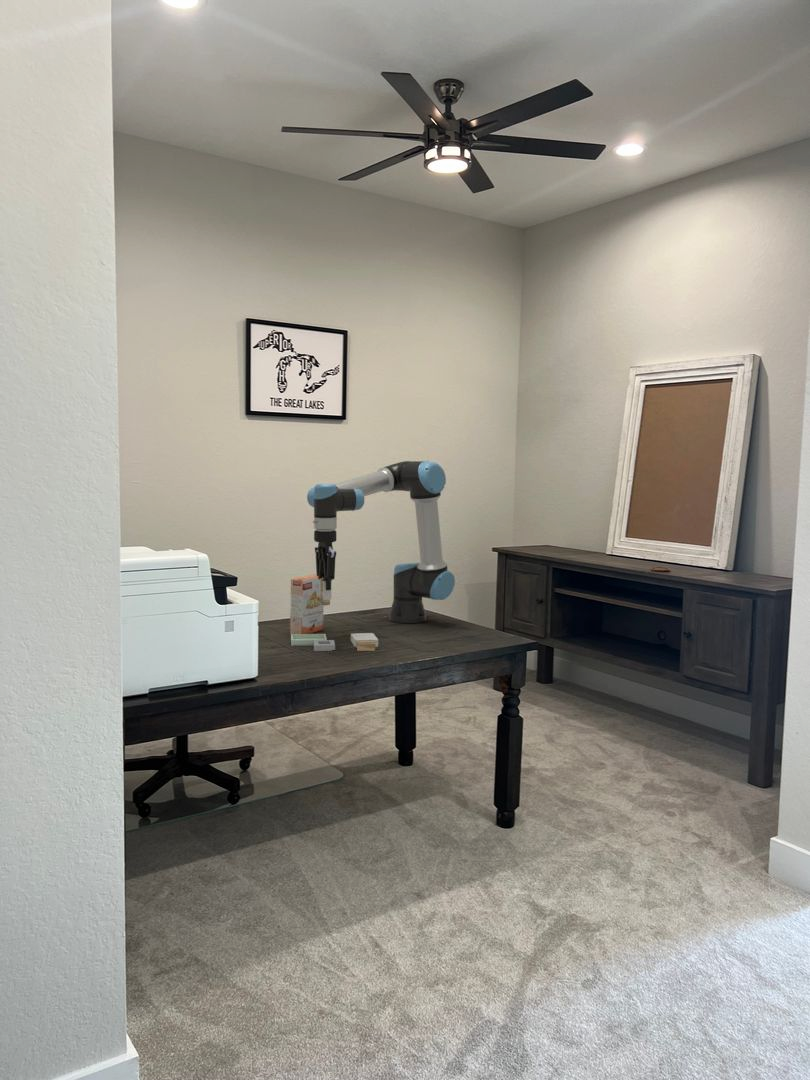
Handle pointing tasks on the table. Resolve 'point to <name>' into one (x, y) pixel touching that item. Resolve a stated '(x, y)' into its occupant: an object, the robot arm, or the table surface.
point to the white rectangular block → (364, 638)
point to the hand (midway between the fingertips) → (325, 598)
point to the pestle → (323, 602)
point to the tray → (306, 639)
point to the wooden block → (365, 645)
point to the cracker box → (305, 605)
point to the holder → (324, 645)
